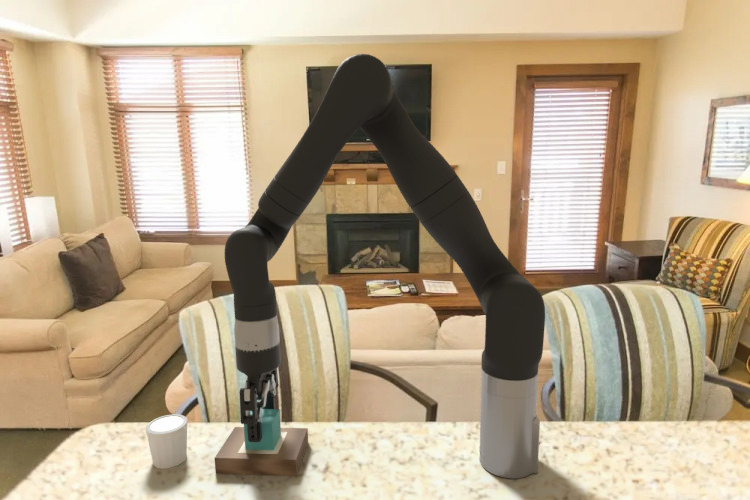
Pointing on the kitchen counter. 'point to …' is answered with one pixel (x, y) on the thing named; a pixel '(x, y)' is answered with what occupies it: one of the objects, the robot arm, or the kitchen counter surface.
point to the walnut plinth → (263, 454)
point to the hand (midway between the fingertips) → (262, 427)
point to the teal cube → (266, 431)
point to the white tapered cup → (168, 440)
